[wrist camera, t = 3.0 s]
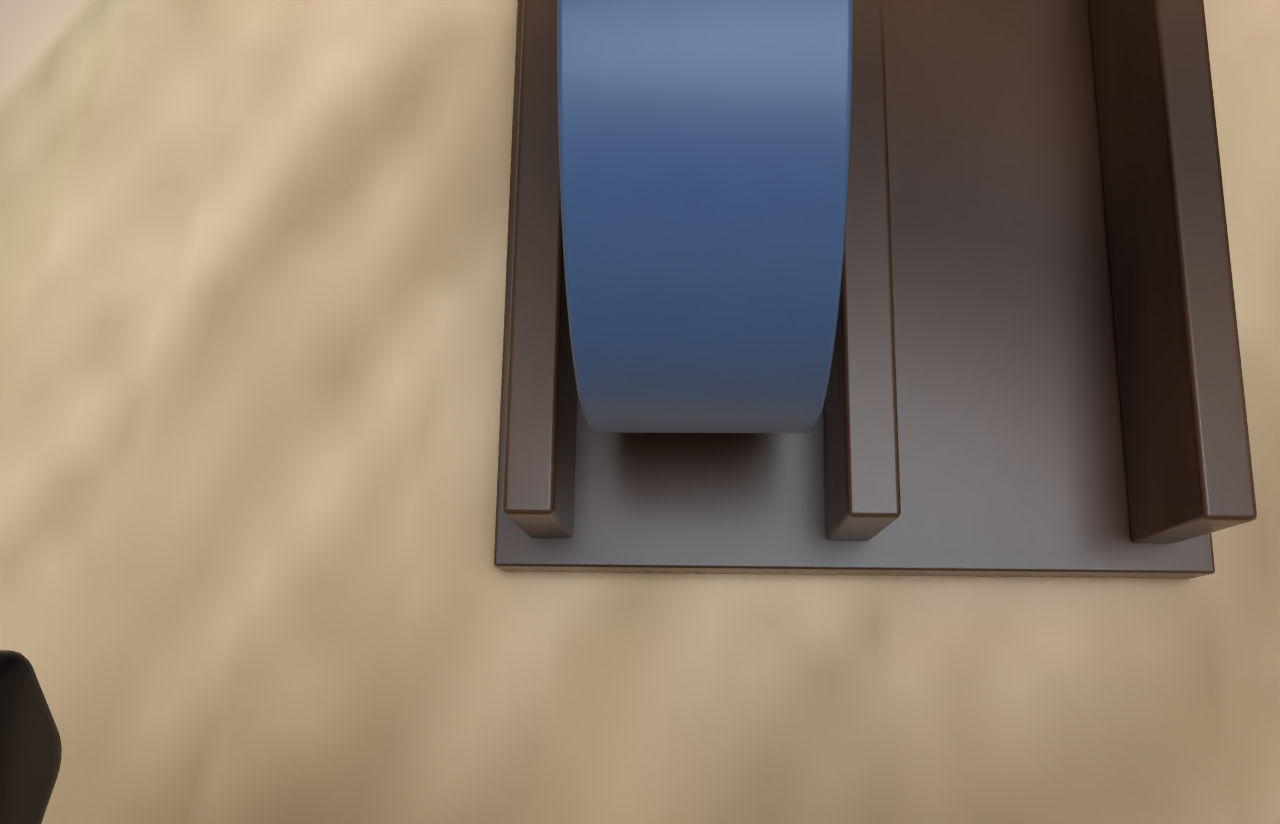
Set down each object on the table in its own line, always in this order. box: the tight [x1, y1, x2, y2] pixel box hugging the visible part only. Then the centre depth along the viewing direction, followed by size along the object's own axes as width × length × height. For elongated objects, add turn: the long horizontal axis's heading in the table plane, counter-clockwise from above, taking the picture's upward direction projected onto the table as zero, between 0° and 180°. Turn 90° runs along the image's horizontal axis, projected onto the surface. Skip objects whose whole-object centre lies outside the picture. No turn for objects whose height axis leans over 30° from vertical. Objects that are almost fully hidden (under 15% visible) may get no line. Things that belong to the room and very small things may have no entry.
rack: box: [494, 0, 1257, 578], centre depth 21 cm, size 12×12×4 cm
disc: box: [557, 0, 853, 433], centre depth 17 cm, size 9×3×9 cm, turn 179°
